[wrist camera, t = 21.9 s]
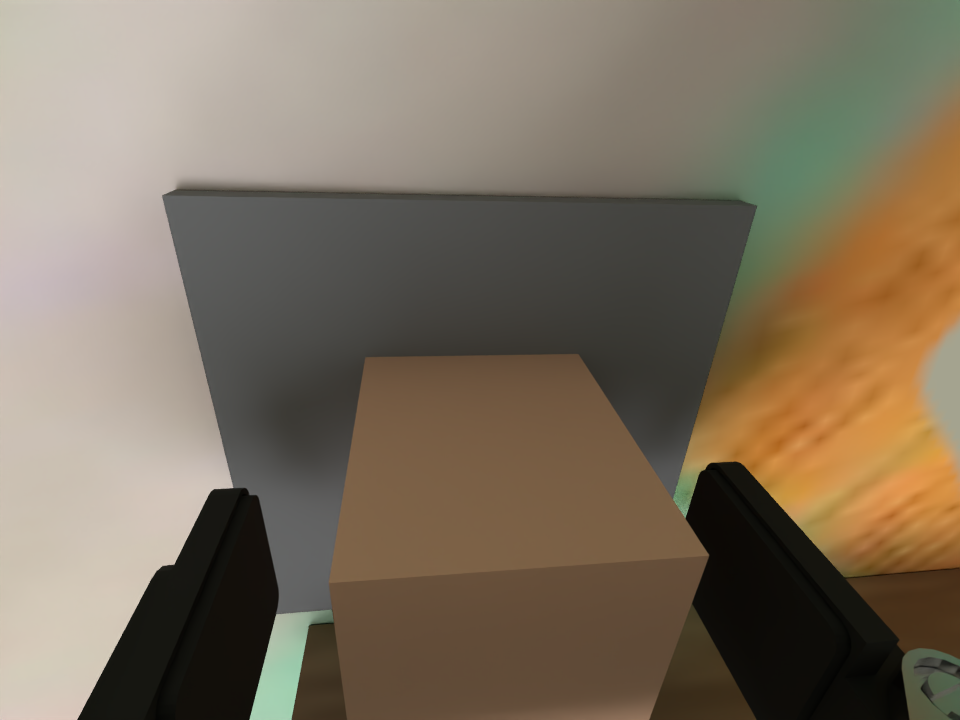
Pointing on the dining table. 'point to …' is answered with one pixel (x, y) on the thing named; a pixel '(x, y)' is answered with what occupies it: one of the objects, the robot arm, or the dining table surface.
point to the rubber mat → (436, 322)
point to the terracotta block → (503, 547)
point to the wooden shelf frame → (699, 651)
